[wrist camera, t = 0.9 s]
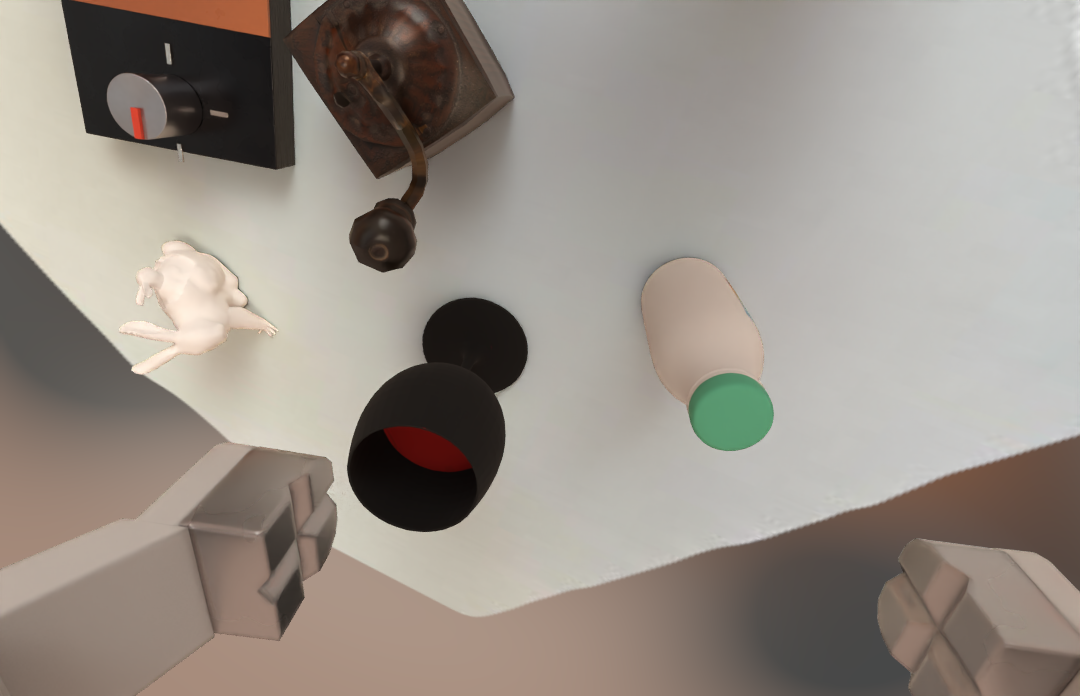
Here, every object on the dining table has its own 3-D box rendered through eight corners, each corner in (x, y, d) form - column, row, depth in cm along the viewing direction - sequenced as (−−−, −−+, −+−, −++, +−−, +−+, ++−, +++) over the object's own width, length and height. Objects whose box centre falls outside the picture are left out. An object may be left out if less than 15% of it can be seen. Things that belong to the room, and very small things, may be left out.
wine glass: (407, 309, 52) (307, 428, 34) (511, 286, 50) (462, 398, 32) (443, 401, 56) (370, 550, 38) (540, 383, 54) (512, 531, 36)
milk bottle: (625, 315, 50) (639, 444, 32) (667, 240, 47) (710, 337, 29) (699, 349, 51) (753, 493, 33) (746, 278, 48) (835, 395, 30)
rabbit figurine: (281, 332, 54) (221, 379, 46) (226, 360, 57) (158, 410, 48) (201, 224, 50) (119, 253, 42) (145, 258, 52) (55, 292, 44)
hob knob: (143, 69, 42) (97, 67, 38) (199, 79, 42) (159, 79, 38) (152, 129, 44) (109, 133, 40) (205, 139, 44) (167, 145, 40)
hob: (70, -134, 39) (29, -151, 37) (287, -94, 39) (263, -107, 36) (116, 140, 48) (86, 143, 45) (295, 174, 47) (276, 180, 45)
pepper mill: (331, 52, 43) (171, 32, 27) (443, -39, 40) (337, -124, 24) (445, 223, 48) (367, 292, 32) (552, 155, 45) (526, 194, 29)
